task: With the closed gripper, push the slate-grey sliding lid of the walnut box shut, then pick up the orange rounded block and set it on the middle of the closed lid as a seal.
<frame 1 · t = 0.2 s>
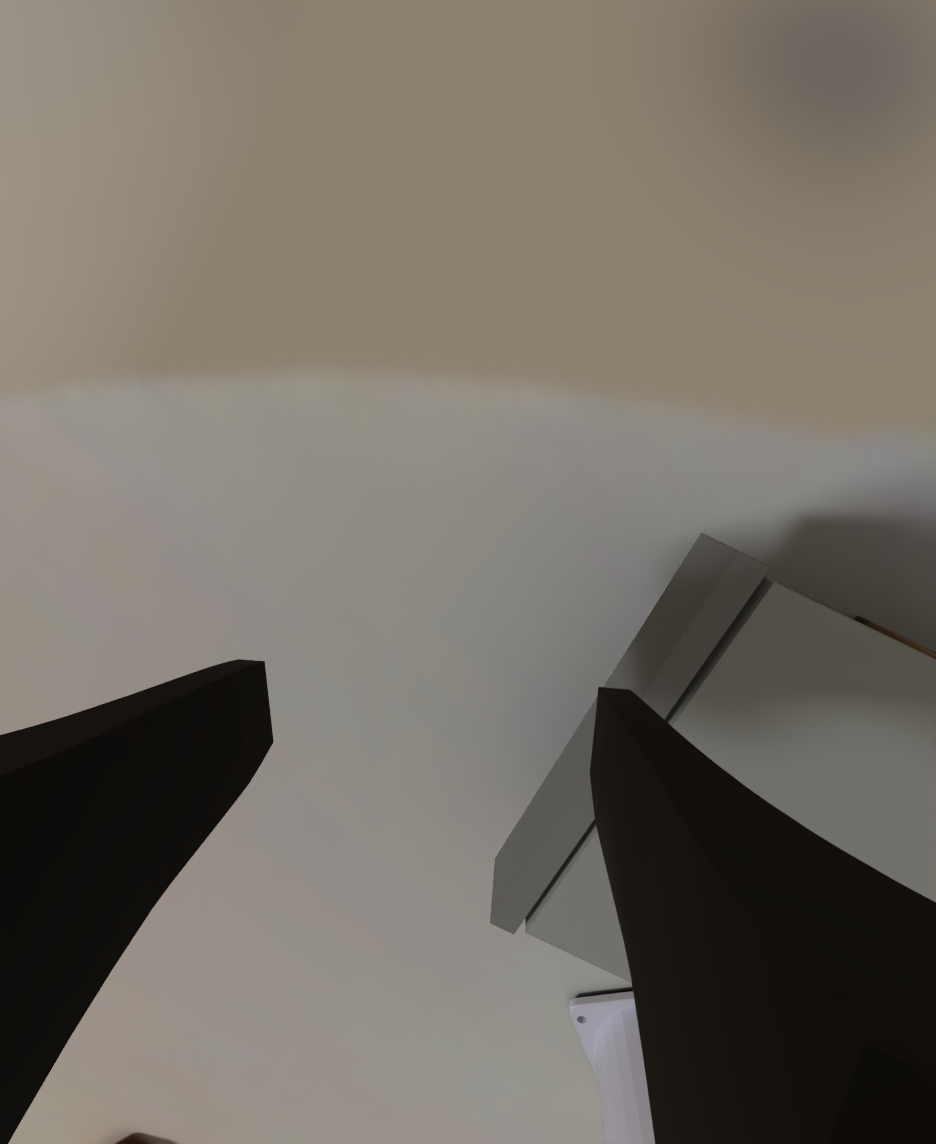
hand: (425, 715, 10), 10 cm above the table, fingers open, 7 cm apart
lid: (772, 826, 15), point 5 cm above the table, slide at 7.0 cm
box: (875, 813, 20), on the table
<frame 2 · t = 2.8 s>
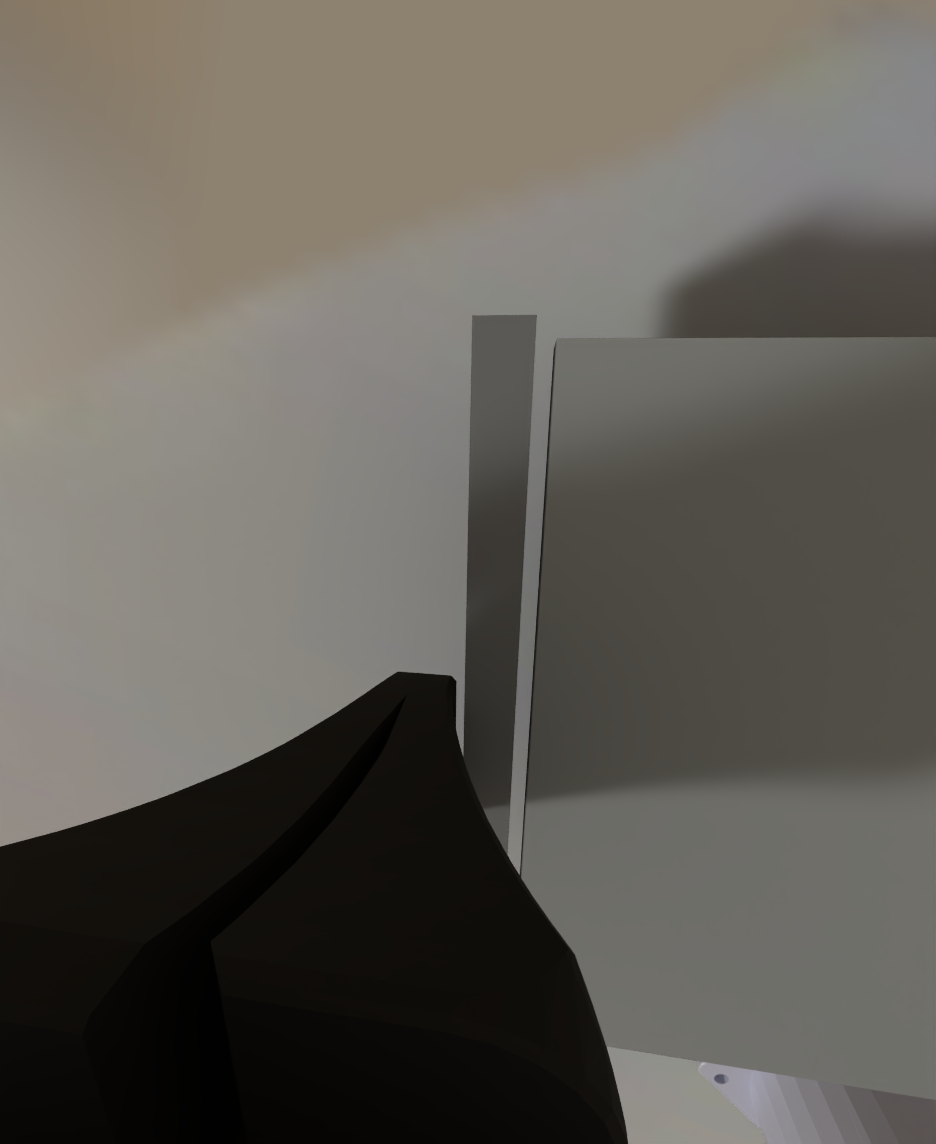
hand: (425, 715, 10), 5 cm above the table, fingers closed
lid: (807, 746, 9), point 5 cm above the table, slide at 6.8 cm, touching gripper
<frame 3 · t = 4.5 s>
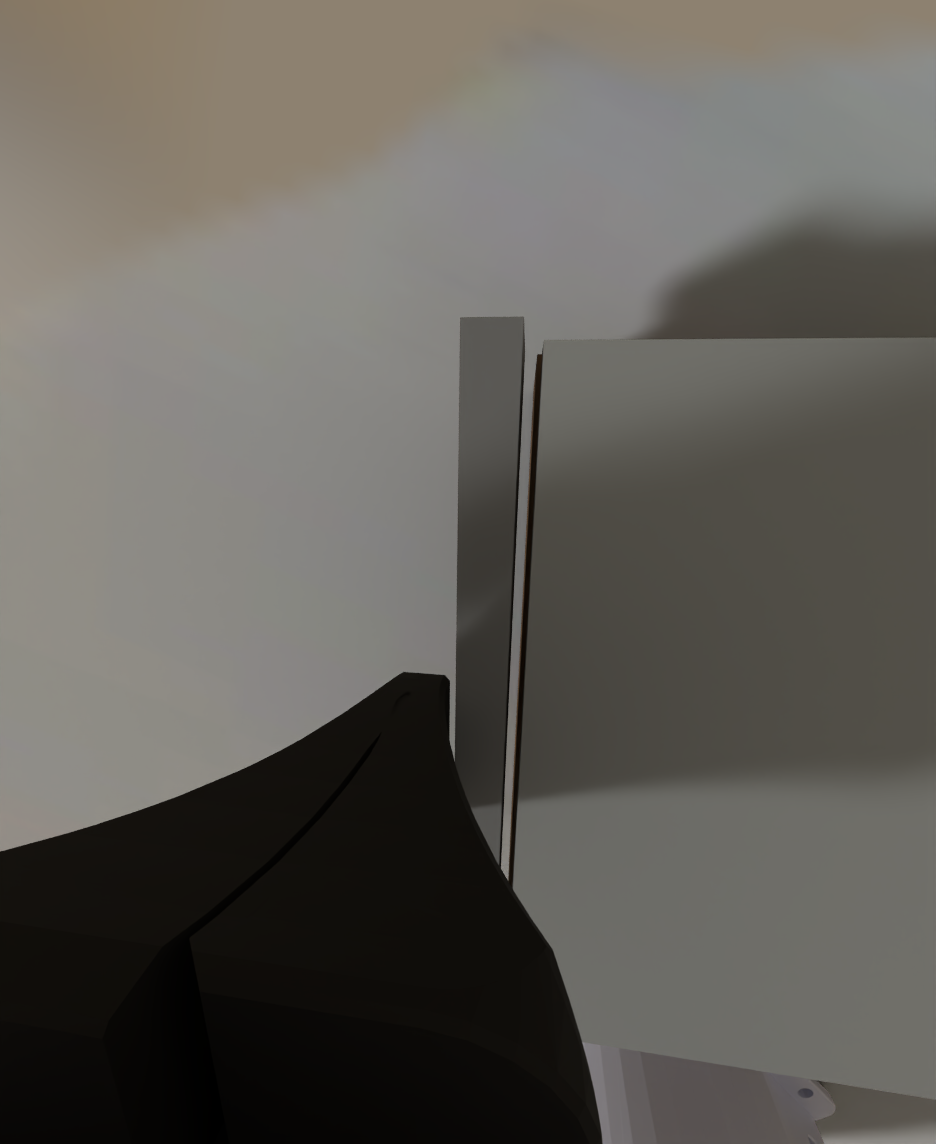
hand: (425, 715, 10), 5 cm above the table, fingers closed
lid: (798, 745, 9), point 5 cm above the table, slide at -0.1 cm, touching gripper
box: (726, 644, 14), on the table
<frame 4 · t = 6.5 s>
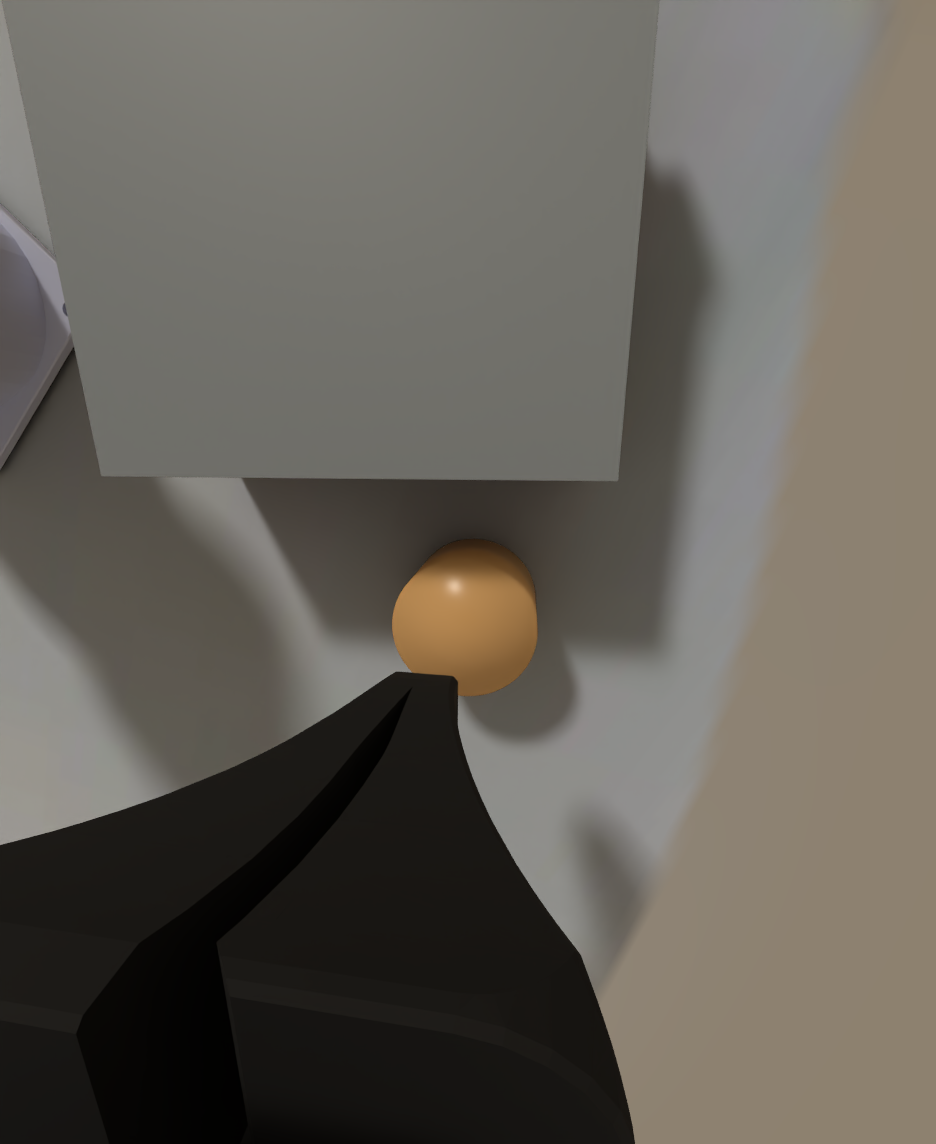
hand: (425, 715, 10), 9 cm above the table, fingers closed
lid: (342, 206, 12), point 5 cm above the table, slide at 0.0 cm
orange rounded block: (474, 597, 19), on the table
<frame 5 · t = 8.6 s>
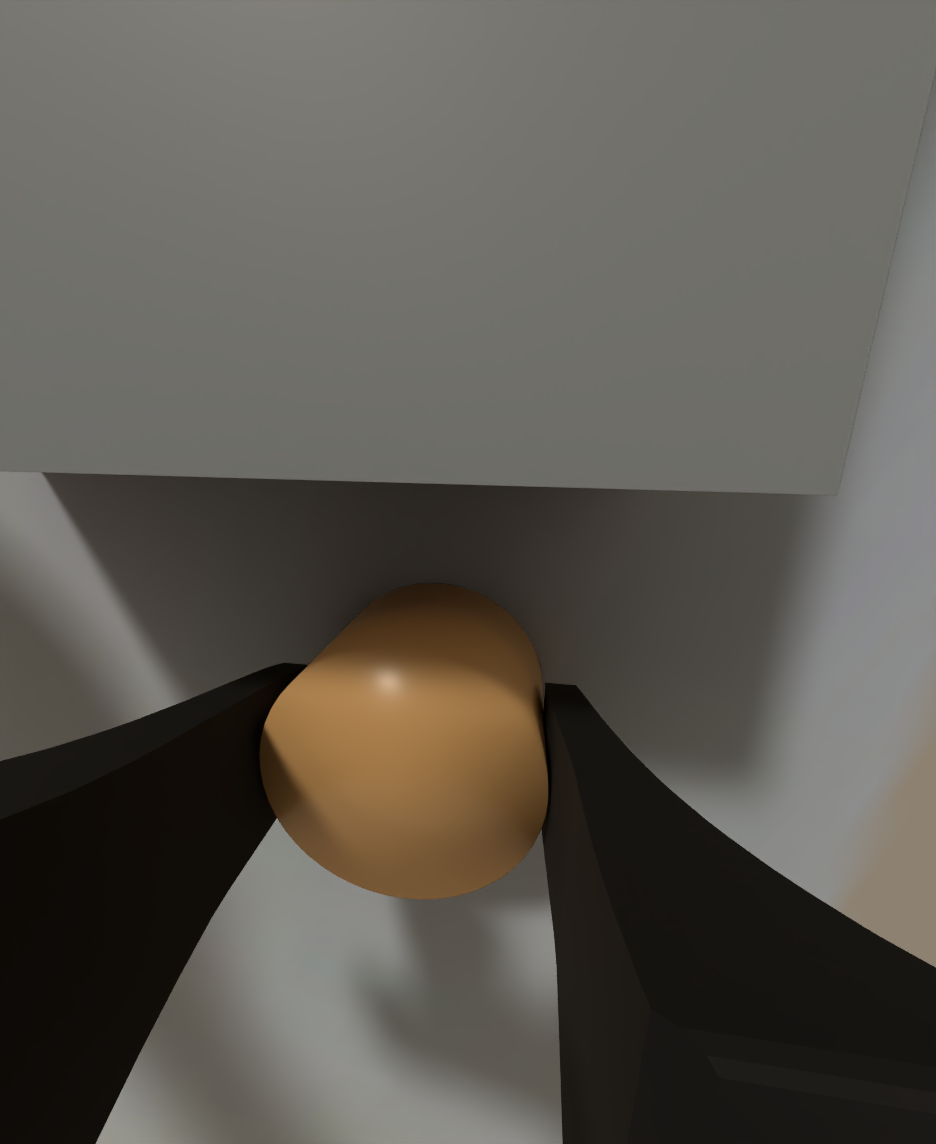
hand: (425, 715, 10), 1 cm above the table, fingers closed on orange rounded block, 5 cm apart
orange rounded block: (437, 682, 11), on the table, touching gripper
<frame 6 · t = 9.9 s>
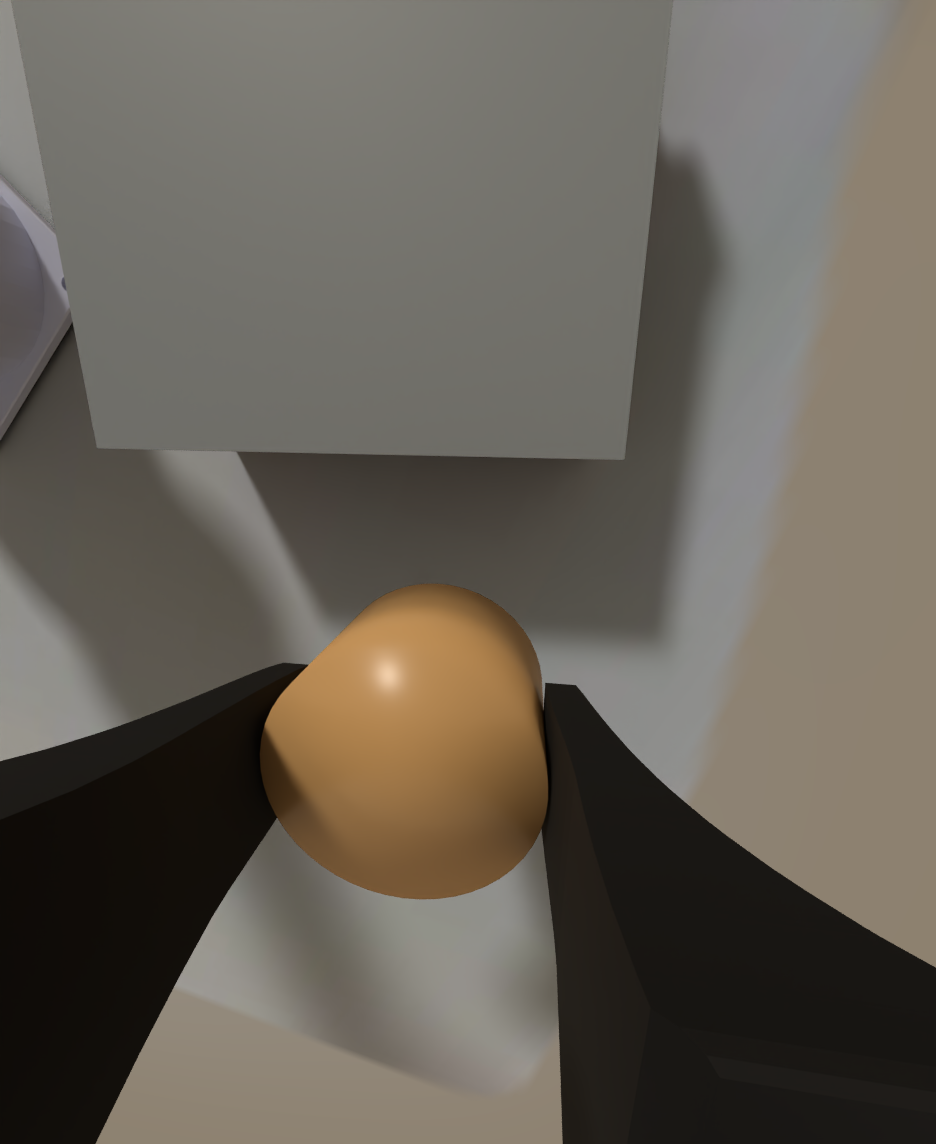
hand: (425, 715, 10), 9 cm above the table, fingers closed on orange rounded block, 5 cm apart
lid: (348, 174, 11), point 5 cm above the table, slide at 0.0 cm
orange rounded block: (437, 682, 11), point 8 cm above the table, touching gripper
when the fingers open (9 cm above the table, at t = 11.5 s): orange rounded block drops 1 cm, resting on lid.
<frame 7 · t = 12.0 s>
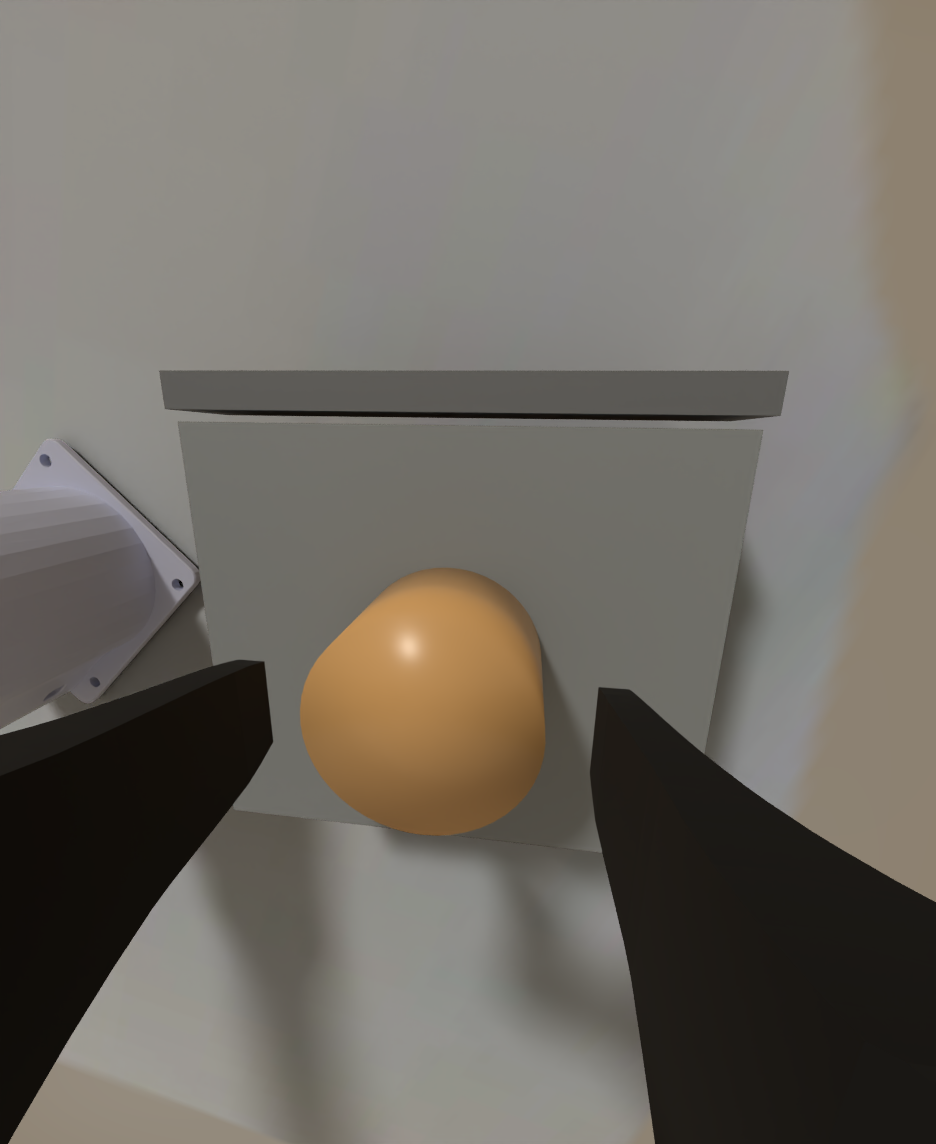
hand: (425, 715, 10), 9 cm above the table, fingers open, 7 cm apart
lid: (455, 618, 14), point 5 cm above the table, slide at 0.0 cm, touching orange rounded block
orange rounded block: (448, 656, 13), point 6 cm above the table, touching lid
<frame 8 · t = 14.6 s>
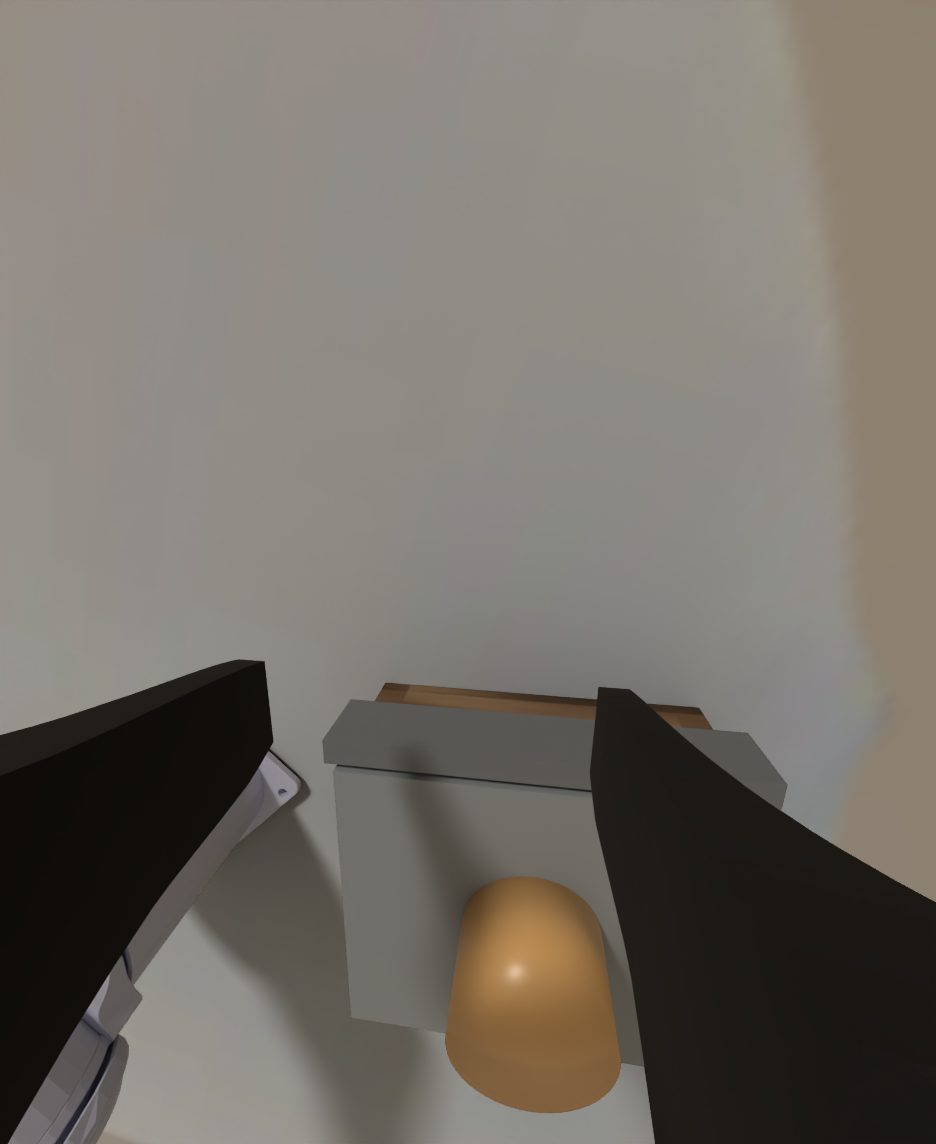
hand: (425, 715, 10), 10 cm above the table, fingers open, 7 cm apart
lid: (530, 885, 18), point 5 cm above the table, slide at 0.0 cm, touching orange rounded block
orange rounded block: (530, 931, 17), point 6 cm above the table, touching lid
box: (529, 804, 22), on the table
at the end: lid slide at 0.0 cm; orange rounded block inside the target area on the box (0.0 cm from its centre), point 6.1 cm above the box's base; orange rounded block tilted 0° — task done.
